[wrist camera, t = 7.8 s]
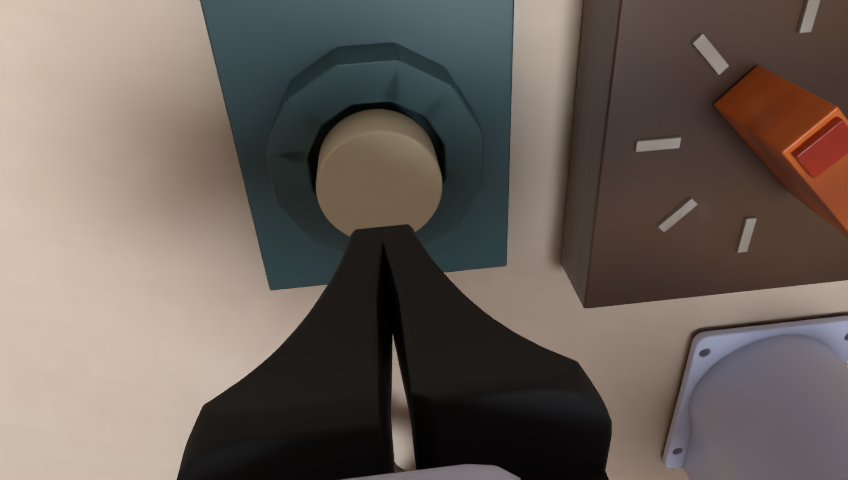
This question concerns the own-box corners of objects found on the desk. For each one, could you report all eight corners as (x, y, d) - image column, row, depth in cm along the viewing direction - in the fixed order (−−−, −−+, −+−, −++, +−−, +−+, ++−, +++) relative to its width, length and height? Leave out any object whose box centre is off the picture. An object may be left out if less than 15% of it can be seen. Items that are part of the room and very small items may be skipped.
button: (438, 208, 20) (445, 237, 18) (327, 219, 19) (325, 249, 18) (433, 102, 18) (440, 125, 16) (309, 113, 17) (306, 137, 16)
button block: (500, 249, 24) (517, 295, 22) (273, 272, 24) (264, 322, 21) (507, -55, 18) (532, -40, 16) (201, -33, 18) (177, -14, 15)
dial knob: (831, 158, 20) (922, 216, 17) (788, 192, 20) (868, 254, 17) (757, 64, 18) (845, 109, 15) (712, 104, 18) (787, 157, 15)
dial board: (815, 236, 25) (869, 281, 23) (560, 263, 25) (585, 312, 22) (945, -123, 18) (1045, -118, 16) (591, -99, 18) (634, -90, 15)
